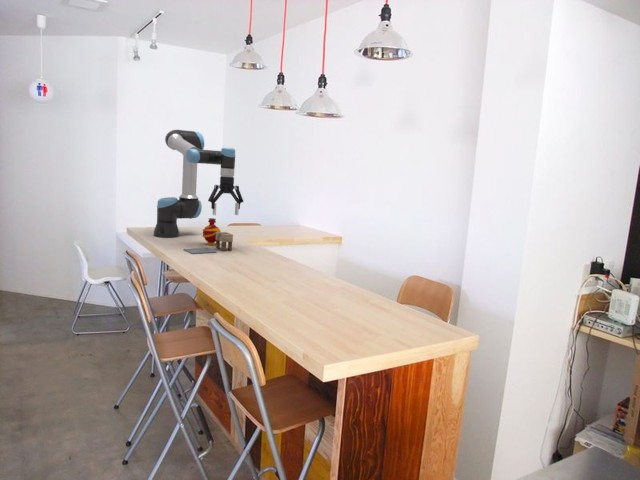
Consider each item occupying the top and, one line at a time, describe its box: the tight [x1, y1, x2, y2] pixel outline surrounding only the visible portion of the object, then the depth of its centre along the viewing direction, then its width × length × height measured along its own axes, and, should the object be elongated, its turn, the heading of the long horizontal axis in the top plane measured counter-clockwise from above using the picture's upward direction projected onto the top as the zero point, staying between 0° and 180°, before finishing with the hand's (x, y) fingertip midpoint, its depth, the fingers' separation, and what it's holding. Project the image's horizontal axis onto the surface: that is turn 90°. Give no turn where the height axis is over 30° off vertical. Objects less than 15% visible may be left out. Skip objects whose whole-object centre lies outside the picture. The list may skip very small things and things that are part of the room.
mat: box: [183, 247, 217, 255], centre depth 261 cm, size 11×14×1 cm
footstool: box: [215, 231, 234, 252], centre depth 271 cm, size 9×6×9 cm, turn 38°
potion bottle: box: [202, 217, 222, 246], centre depth 283 cm, size 10×10×15 cm
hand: (225, 215), depth 269 cm, fingers open, 13 cm apart
